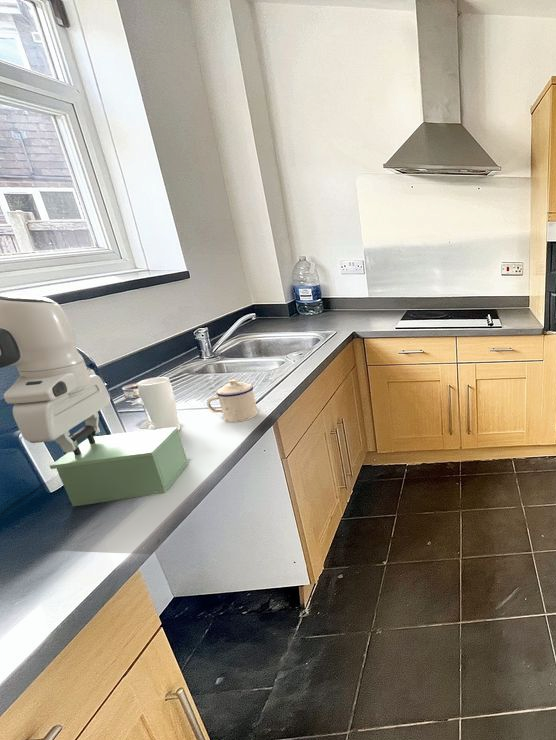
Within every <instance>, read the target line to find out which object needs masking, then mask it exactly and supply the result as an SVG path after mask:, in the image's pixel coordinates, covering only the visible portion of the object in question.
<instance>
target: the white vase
mask: <svg viewBox="0 0 556 740" xmlns="http://www.w3.org/2000/svg"><path fill="white" fill-rule="evenodd" d="M136 383H137V386H138V390H139V393H140V396H141V399H142V401H143V403H144V406H145V408H146V410H147V412H148V414H149V418H150V421H151V422H152V423H153V425H154V427H153V428H154V430H155V429H164V428H173V427H177V428H178V431H180V429H181V424H180V420H179V415H178V410H177V405H176V399H175V393H174V389H173V387H172V383H171V380H170V378H169V377H167V376H157V377H149V378H145V379H143V380H140V381H138V382H136Z"/></svg>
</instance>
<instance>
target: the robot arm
mask: <svg viewBox="0 0 556 740" xmlns="http://www.w3.org/2000/svg"><path fill="white" fill-rule="evenodd" d="M9 366H12V367H16V370H17V371H18V374H19V376H17V378H16V380H15V381H14V383H13V384H12V385H11V386H10V387H9V388H8V389H7V390H6V391H5V392H4V393H3V399H4V401H5V403H7V404H8V405H13V407H12V416H13V419H14V421H15V423H16V426H17V428H18V430H19V432H20V434H21V436H22V437H23V439H24V440H25V441H27V442H28V443H31V444H37V443H48V442H52V441H54V442H55V443H56V444H58V445H59V447H60V448H61V450H62V452H63V453H68V452H73V451H74V450H76V449H77V448H78V447H79V446H78V445H79V444H78V443H77V441H76V440H74V441H72V440H71V439H70V436H71V432H70V430H72V429H73V428H75V427H77V426H78V425H80V424H81V423H83V422H84V423H85V424H84V427H85V426H87V425H90V426H92V427H94V432H92V434H93V437H95V436H97V435H98V434H99V433H101V429H100V426H99V420H100V415H99V412H100V411H101V410H103V409H104V408H106V407H107V406H109V405H110V403H111V396H110V393H109V392H108V390H107V387H106V385H105V383H104V380H103V379H102V377H100V376H99V375H97V374H96V371H95V370H94V369H91V368H90V367H88V366H87V365H86V362H85V359H84V357H83V356H82V354H81V353H80V352H79V350H78V348H77V337H76V335H75V332H74V329H73V327H72V324H71V323H70V321H69V319H68V316H67V314H66V313H65V311H64V309H63V308H62V307H61V305H60V304H59V303H58V302H56V301H55V300H53V299H51V298H48V297H44V296H39V295H30V294H6V295H0V369H1V368H5V367H9ZM77 444H78V445H77Z"/></svg>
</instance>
